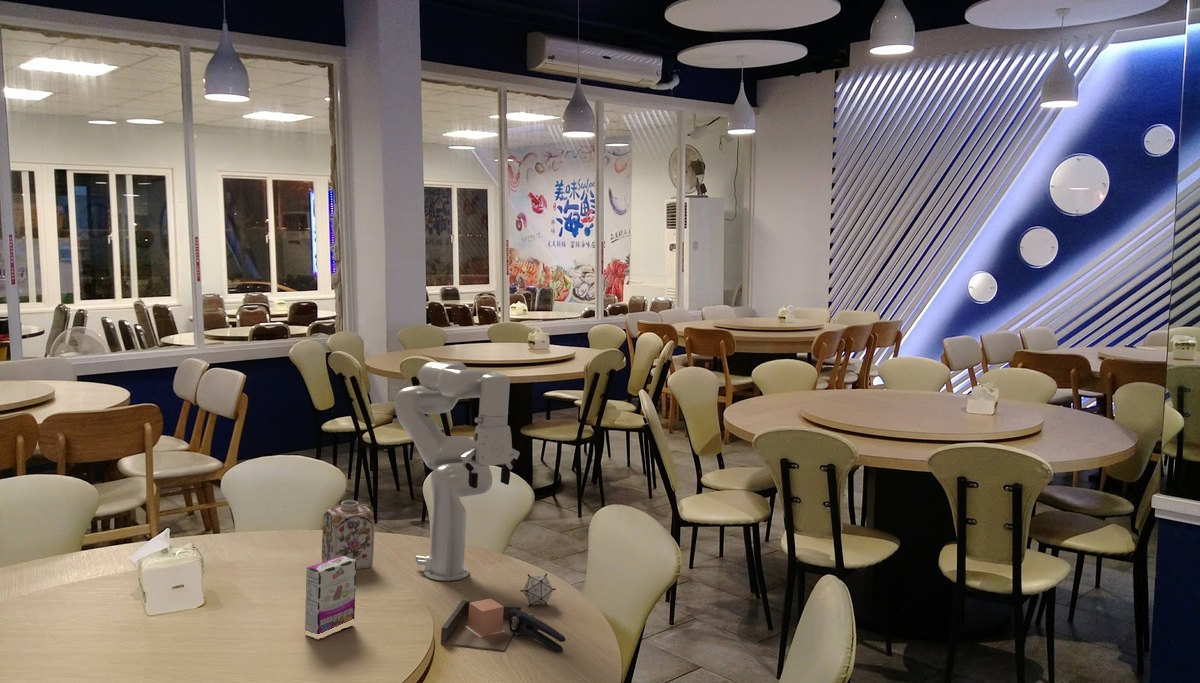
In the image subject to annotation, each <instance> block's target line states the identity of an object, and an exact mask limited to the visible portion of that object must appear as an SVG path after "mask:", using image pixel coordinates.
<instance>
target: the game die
mask: <svg viewBox="0 0 1200 683" xmlns="http://www.w3.org/2000/svg"><path fill="white" fill-rule="evenodd" d="M527 576H528V579H527V581H526V583H525V585H524V587H523V589H520V590H519V591H520V592H521V593H523V594H524V596H525V598H526V599H527V602H528V603H529V604H528V608H531V605H547V607H549V604H548V601H549V599H550V597H551V595H552V592H554V591H556V590H557V588H555V587H554V588H553V587H552V585H551V583H550V581H549V579H548V577H547V576H548V573H547V572H546V573H545V574H544V575H534V576H530V574H529V573H527Z"/></svg>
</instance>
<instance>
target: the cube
mask: <svg viewBox="0 0 1200 683" xmlns="http://www.w3.org/2000/svg"><path fill="white" fill-rule="evenodd" d="M475 601H476V602H471V603H469V618H468V627H469V628H470V629H472V630H473V631H475V632H476V633H478V634H479V635H480V636H482V635H487V634H491V633H495V632H499V631H502V628H503V612H504V606H502V605H500V604H501V603H499V602H498V601H496V600H494V599H493V598H487V599H482V600H475Z"/></svg>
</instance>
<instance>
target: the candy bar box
mask: <svg viewBox="0 0 1200 683" xmlns="http://www.w3.org/2000/svg"><path fill="white" fill-rule="evenodd" d="M356 573H357V570H356V560H355V559H352V558H349V557H346V556H341V557H338V558H334V559H331V560H328V561H325V562H323V561H322V562H320V563H316V564H314V565H309V566H306V580H305V582H306V583H305V587H306V588H305V620H304V631H305V630H306V631H309V632H311V633H315V634H320V633H323V632H325V631H327V630H330V629H332V628H334V627H337V626H339V625H341V624H343V623H346V622H348V621H350V620H352V619H354V620H355V610H356V608H355V607H356V585H357V584H356V583H357V582H356V579H357V578H356V577H357V574H356Z"/></svg>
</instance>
